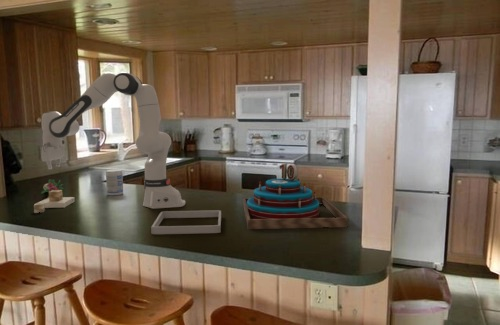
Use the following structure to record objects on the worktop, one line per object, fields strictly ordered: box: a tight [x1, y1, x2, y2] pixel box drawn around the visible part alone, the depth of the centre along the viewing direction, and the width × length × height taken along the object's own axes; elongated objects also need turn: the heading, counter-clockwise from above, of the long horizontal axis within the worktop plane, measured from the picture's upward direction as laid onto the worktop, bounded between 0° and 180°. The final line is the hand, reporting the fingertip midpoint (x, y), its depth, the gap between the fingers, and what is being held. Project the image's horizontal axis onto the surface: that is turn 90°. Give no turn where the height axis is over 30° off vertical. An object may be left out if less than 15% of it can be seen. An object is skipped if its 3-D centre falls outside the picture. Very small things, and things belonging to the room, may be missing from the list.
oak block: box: [48, 189, 64, 201], centre depth 211 cm, size 5×5×5 cm
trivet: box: [37, 196, 76, 209], centre depth 211 cm, size 14×14×2 cm
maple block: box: [33, 202, 46, 214], centre depth 196 cm, size 4×4×4 cm
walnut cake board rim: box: [242, 196, 349, 230], centre depth 188 cm, size 43×43×4 cm
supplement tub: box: [105, 169, 124, 196], centre depth 238 cm, size 10×10×15 cm
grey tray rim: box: [150, 210, 222, 235], centre depth 172 cm, size 28×26×3 cm
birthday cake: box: [247, 162, 320, 219], centre depth 190 cm, size 35×35×24 cm
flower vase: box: [40, 178, 64, 198], centre depth 235 cm, size 12×12×35 cm
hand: (54, 168), depth 209 cm, fingers open, 8 cm apart
